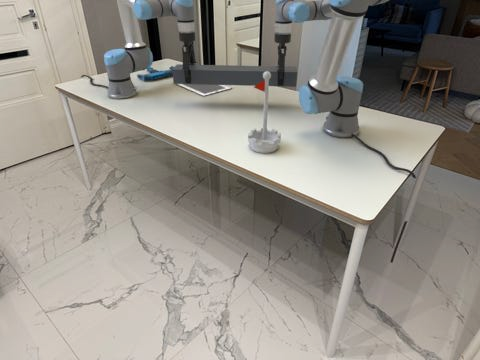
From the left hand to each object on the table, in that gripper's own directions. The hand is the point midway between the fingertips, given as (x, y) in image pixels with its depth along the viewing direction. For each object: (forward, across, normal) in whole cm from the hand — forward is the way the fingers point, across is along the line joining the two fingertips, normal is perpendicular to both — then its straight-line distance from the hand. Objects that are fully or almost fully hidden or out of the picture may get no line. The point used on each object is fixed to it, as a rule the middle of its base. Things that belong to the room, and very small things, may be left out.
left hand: (190, 79), depth 169 cm
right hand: (0, 0, +44) cm, 45 cm away
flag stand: (+13, +43, +39) cm, 60 cm away
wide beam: (+1, 0, +22) cm, 22 cm away
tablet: (+13, -32, -1) cm, 34 cm away
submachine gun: (+14, -54, -32) cm, 64 cm away
